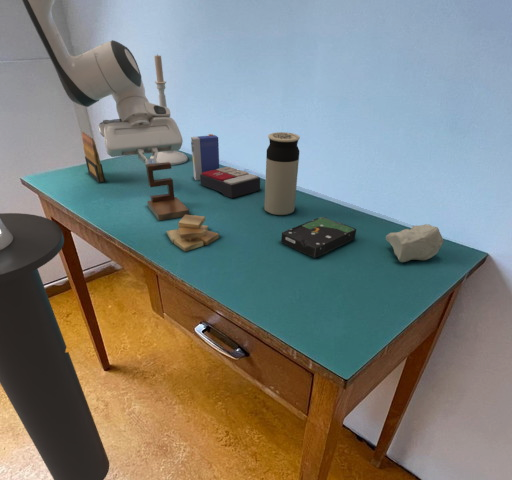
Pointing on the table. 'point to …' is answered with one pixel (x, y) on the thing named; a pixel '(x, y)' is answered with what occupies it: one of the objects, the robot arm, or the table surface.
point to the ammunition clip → (92, 158)
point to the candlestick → (166, 156)
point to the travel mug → (281, 173)
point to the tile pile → (191, 233)
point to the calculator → (230, 181)
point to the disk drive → (318, 236)
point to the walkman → (204, 154)
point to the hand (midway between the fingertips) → (152, 166)
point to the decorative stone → (416, 242)
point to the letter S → (164, 196)
